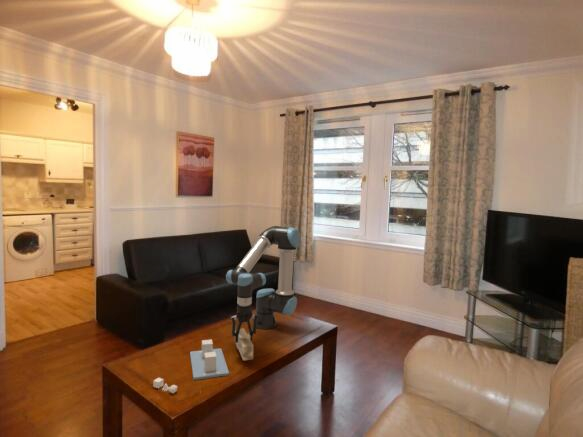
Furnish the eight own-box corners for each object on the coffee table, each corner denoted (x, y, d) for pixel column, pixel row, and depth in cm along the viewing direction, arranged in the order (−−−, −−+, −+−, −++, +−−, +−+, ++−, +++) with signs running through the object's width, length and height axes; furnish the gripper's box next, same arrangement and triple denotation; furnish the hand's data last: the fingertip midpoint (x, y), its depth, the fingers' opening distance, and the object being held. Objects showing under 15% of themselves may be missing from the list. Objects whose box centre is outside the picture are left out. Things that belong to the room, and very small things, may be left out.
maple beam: (243, 340, 192) (244, 328, 191) (253, 359, 172) (253, 345, 171) (234, 341, 190) (235, 329, 190) (243, 360, 170) (243, 347, 169)
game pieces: (152, 387, 150) (152, 380, 149) (159, 384, 153) (159, 377, 152) (173, 395, 144) (173, 388, 144) (179, 392, 147) (179, 384, 147)
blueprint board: (220, 350, 186) (221, 335, 185) (228, 375, 161) (229, 358, 161) (190, 353, 180) (190, 338, 180) (193, 380, 156) (193, 362, 155)
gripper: (228, 308, 172) (227, 352, 174) (263, 305, 178) (262, 348, 180) (225, 303, 179) (225, 346, 181) (259, 300, 185) (258, 342, 187)
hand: (243, 347), depth 181 cm, fingers closed on maple beam, 5 cm apart
